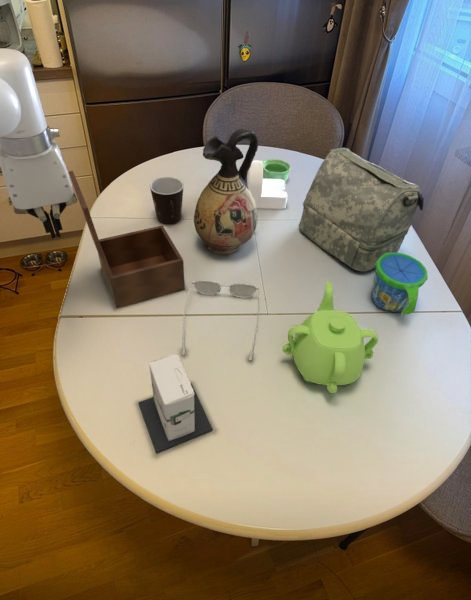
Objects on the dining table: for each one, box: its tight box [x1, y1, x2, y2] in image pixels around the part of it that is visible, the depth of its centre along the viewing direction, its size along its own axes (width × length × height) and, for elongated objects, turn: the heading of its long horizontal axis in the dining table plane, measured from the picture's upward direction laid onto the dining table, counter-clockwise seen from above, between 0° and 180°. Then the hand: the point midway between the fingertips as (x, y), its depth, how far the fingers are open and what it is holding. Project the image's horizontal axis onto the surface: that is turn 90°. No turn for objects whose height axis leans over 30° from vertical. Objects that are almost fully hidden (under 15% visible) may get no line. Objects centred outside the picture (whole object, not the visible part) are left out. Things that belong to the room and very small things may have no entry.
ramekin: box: [263, 158, 291, 183], centre depth 131 cm, size 9×9×4 cm
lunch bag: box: [298, 147, 425, 272], centre depth 103 cm, size 26×18×22 cm
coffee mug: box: [149, 176, 185, 226], centre depth 110 cm, size 12×9×10 cm
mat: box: [138, 382, 214, 454], centre depth 72 cm, size 10×10×1 cm
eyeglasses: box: [181, 279, 261, 362], centre depth 87 cm, size 15×18×4 cm
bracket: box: [247, 159, 288, 210], centre depth 119 cm, size 19×10×11 cm, turn 91°
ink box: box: [148, 352, 195, 441], centre depth 68 cm, size 9×5×12 cm, turn 25°
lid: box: [68, 170, 111, 278], centre depth 81 cm, size 16×14×1 cm
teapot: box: [282, 280, 379, 394], centre depth 78 cm, size 16×14×13 cm
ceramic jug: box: [193, 128, 259, 255], centre depth 97 cm, size 17×15×30 cm
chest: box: [97, 224, 186, 310], centre depth 93 cm, size 16×14×9 cm
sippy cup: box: [371, 252, 429, 316], centre depth 92 cm, size 16×10×10 cm
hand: (55, 233), depth 79 cm, fingers closed
